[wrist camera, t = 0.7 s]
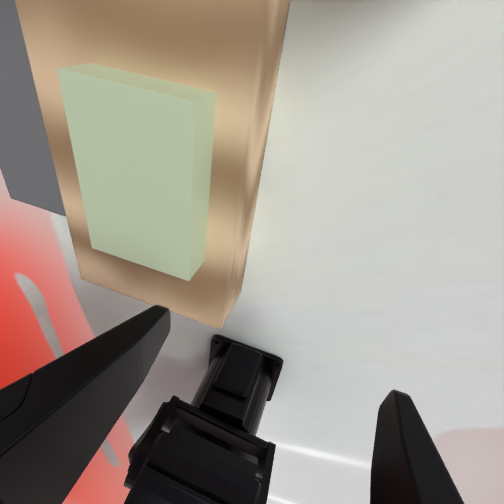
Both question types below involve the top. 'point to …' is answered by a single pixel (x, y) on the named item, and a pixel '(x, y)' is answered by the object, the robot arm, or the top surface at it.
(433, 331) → the top surface
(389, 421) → the robot arm
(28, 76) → the mat
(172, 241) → the pale green foam block
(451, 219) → the top surface
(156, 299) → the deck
